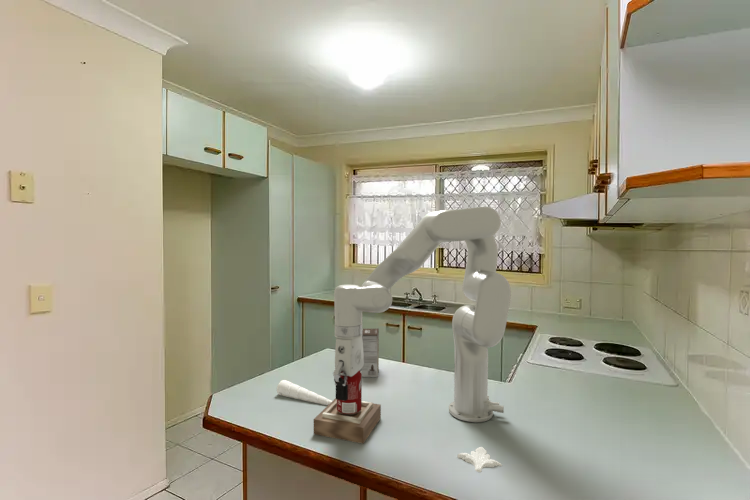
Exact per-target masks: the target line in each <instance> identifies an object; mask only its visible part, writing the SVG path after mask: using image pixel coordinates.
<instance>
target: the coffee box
mask: <svg viewBox="0 0 750 500" xmlns="http://www.w3.org/2000/svg"><path fill="white" fill-rule="evenodd" d="M379 333H380V329H379V328H362V340H363V354H364V365H363V367H362V370H361V374H362V378H371V377H372V378H378V377H379V369H380V368H379V361H380V360H379V357H380V355H379V354H380V353H379V351H380V350H379V349H380V348H379V345H380V343H379V342H380V339H379V337H380V336H379V335H380V334H379Z"/></svg>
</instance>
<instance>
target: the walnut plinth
mask: <svg viewBox="0 0 750 500" xmlns="http://www.w3.org/2000/svg"><path fill="white" fill-rule="evenodd" d="M331 401H332V402H331V403H330V404H329V405H326V406H325V408H324V409H323V410H322V411H320V413H318V415H316V416H315V417H314V418H313V435H314V436H315V435H317V436H321V437H326V438H332V439H337V440H342V441H347V442H348V441H349V442H353V443H358V444H365V442H366V440H367V439H368V438H369V436H370V435H371V433H372V432H373V430H375V429H374V428H376V426H377V424H379V421H380V420H381V419H382V414H381V413H382V404H379V403H374V402H370V401H364V400H362V403H361V411H360V412H359V413H357V414H355V415H351V416H346V415H342V414H341V413H339V412H338V411H337V399H336V397H335V398H334V399H333V400H331Z"/></svg>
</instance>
